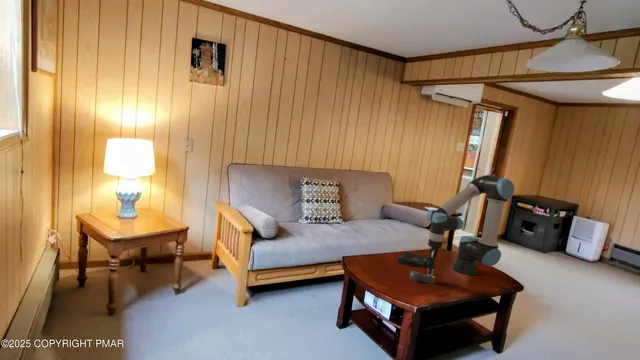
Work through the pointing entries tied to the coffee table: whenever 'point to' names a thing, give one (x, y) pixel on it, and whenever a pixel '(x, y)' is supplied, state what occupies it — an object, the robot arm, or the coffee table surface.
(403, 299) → the coffee table surface
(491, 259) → the robot arm
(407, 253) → the portable cd player
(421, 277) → the dial
